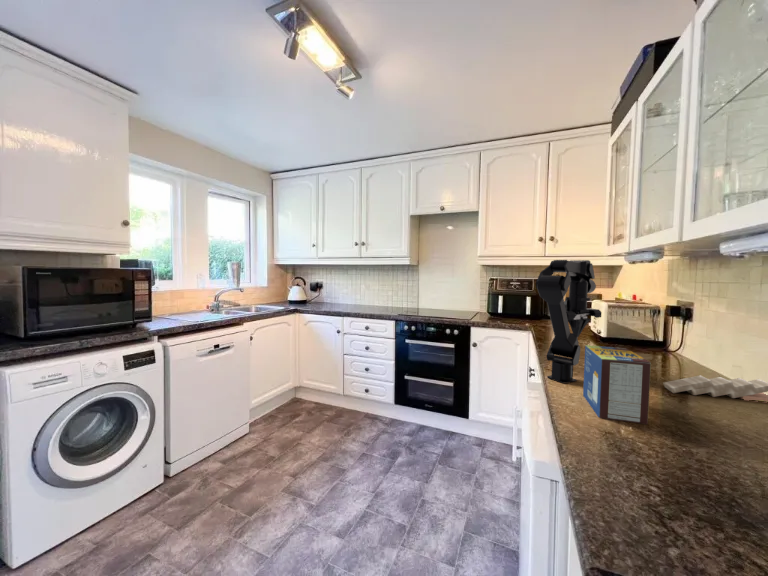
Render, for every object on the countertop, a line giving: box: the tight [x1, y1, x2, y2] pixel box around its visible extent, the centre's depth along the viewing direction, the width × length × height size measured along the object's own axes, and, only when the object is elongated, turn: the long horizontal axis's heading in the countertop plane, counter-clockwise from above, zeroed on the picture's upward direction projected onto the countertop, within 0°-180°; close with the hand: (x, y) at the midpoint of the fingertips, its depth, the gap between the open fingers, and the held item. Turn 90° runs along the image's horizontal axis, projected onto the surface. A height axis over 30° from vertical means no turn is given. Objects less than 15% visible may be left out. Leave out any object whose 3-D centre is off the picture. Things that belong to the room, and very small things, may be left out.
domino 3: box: [706, 377, 755, 398], centre depth 95 cm, size 2×5×10 cm
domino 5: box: [737, 392, 768, 401], centre depth 93 cm, size 2×5×10 cm
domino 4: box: [725, 378, 768, 399], centre depth 94 cm, size 2×5×10 cm
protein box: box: [582, 344, 652, 425], centre depth 85 cm, size 10×15×16 cm
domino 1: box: [662, 374, 713, 394], centre depth 98 cm, size 2×5×10 cm
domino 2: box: [686, 376, 734, 396], centre depth 96 cm, size 2×5×10 cm
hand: (576, 337), depth 115 cm, fingers closed
